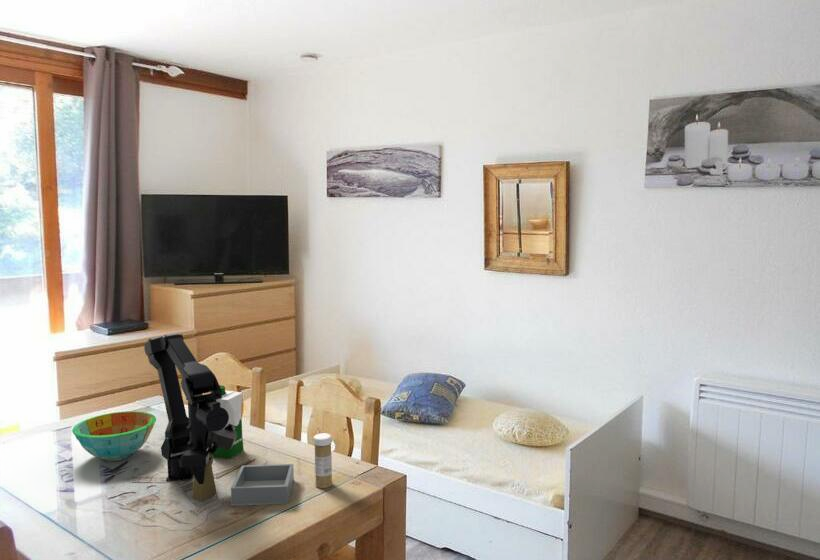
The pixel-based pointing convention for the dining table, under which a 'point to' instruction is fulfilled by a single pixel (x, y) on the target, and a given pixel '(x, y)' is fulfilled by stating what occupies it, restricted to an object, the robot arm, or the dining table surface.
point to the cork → (205, 484)
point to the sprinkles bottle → (323, 460)
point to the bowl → (114, 434)
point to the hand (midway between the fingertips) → (203, 479)
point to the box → (262, 485)
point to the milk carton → (231, 421)
